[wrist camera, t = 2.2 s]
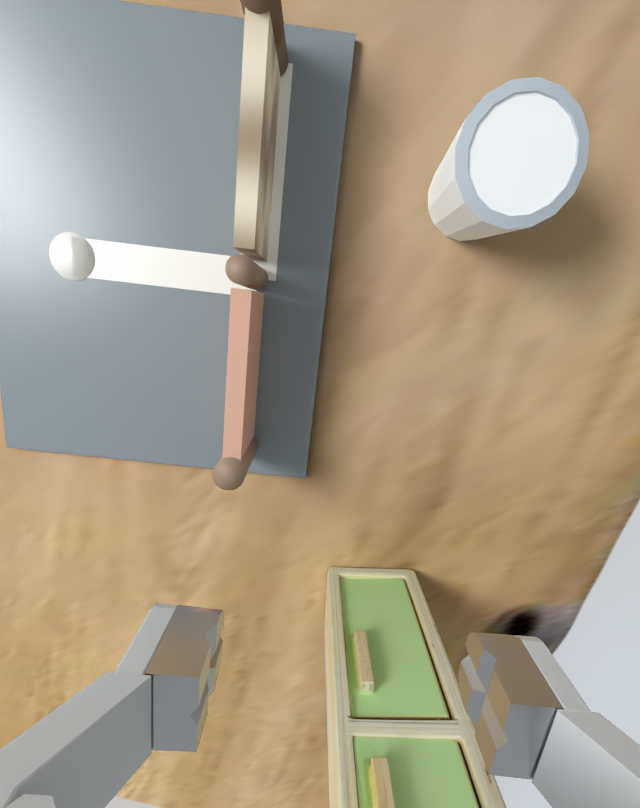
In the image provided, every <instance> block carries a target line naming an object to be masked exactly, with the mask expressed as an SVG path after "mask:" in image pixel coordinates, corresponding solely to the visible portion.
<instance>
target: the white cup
mask: <svg viewBox="0 0 640 808" xmlns="http://www.w3.org/2000/svg"><path fill="white" fill-rule="evenodd" d="M589 137H590V135H589V131H588V128H587V125H586V121H585V118H584V114H583V111H582V107H581V106H580V105H579V104H578V103H577V102H576V100H575V99H574V98H573V97H572V96H571V95H570V93H569V92H568V91H567V90H566V89H565V88H564V87H563V86H560V85H558V84H556V83H553V82H551V81H548V80H546V79H543V78H541V77H532V78H522V79H511V80H510V81H508V82H506V83H504V84H503V85H501V86H499V87H497V88H496V89H494V90H492V91H490V92H489V93H487V94H485V96H484V97H483V98H482V99H481V100H480V102H479V103H478V104H477V105H476V107H475V108H474V109H473V110H472V112H471V113H470V114H469V115H468V116H467V118H466V119H465V121H464V123H463V124H462V126H461V128H460V130H459V132H458V133H457V135H456V137H455V139H454V141H453V142H452V144H451V146H450V148H449V149H448V151H447V153H446V155H445V157H444V158H443V160H442V162H441V164H440V166H439V167H438V169H437V171H436V173H435V174H434V177H433V180H432V182H431V185H430V188H429V191H428V211H429V213H430V216H431V218H432V221H433V223H434V225H435V226H436V227H437V228H438V229H439V230H440V231H441V232H442V233H443V234H444V235H445V236H446V237H449V238H452V239H455V240H458V241H468V240H477V239H481V238H485V237H490V236H494V235H499V234H503V233H507V232H512V231H516V230H521V229H525V228H529V227H532V226H534V225H536V224H538V223H540V222H542V221H544V220H546V219H547V218H549V217H551V216H553V215H555V214H556V213H557V212H558V211H559V210H560V209H561V207H562V206H563V205H564V204H565V203H566V202H567V201H568V200H569V199H570V198H571V197H572V195H573V194H574V193H575V191H576V189H577V187H578V185H579V182H580V180H581V178H582V176H583V173H584V171H585V169H586V167H587V160H588V148H589Z"/></svg>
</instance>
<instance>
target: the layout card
mask: <svg viewBox="0 0 640 808" xmlns="http://www.w3.org/2000/svg"><path fill="white" fill-rule="evenodd" d="M244 21H245V18H239V17H232V16H225V15H218V14H211V13H204V12H196V11H189V10H182V9H175V8H168V7H161V6H154V5H146V4H139V3H132V2H125V1H118V0H0V390H1V399H2V409H3V418H4V428H5V438H6V447H8V448H18V449H28V450H37V451H47V452H57V453H67V454H76V455H86V456H96V457H105V458H115V459H125V460H134V461H144V462H154V463H164V464H173V465H183V466H193V467H202V468H212V469H214V468H215V466H216V465H217V463H218V462H219V460H220V459H221V458H222V453H223V434H224V414H225V394H226V375H227V355H228V335H229V316H230V296H231V288H239V289H247V290H253V289H250V288H247V287H244V286H242V285H239V284H236V283H233V282H232V281H231V280H230V279H229V278H228V277H227V274H226V271H225V266H226V262H227V260H228V259H229V258H230V257H231V256H232V255H235V254H242V253H240V252H239V251H238V250H236V249H235V248H234V247H233V237H234V217H235V198H236V178H237V158H238V139H239V119H240V99H241V80H242V60H243V40H244ZM284 30H285V38H286V46H287V55H288V66H287V70H286V72H285V73H284V75H283V76H281V79H280V92H279V106H278V120H277V134H276V147H275V161H274V175H273V188H272V202H271V216H270V230H269V243H268V257H267V262H264V261H256V260H253V261H254V262H255V263H256V264H258V265H259V266H260V267H262V268H263V269H264V270H265V271H266V272H267V275H268V283H267V285H266V286H265V287H264V288H263V289H261V290H253V291H256V292H259V293H262V294H264V305H263V319H262V333H261V346H260V360H259V374H258V388H257V401H256V415H255V429H254V436H255V437H256V439H257V440H258V449H257V451H256V454H255V456H254V458H253V460H252V463H251V465H250V467H249V469H248V471H247V472H251V473H261V474H270V475H280V476H290V477H299V478H306V471H307V462H308V453H309V444H310V435H311V426H312V417H313V409H314V400H315V391H316V382H317V373H318V364H319V355H320V346H321V338H322V329H323V320H324V311H325V302H326V293H327V284H328V275H329V267H330V258H331V249H332V240H333V231H334V222H335V213H336V204H337V196H338V187H339V178H340V169H341V160H342V151H343V142H344V133H345V125H346V116H347V107H348V98H349V89H350V80H351V71H352V62H353V54H354V45H355V36H356V34H354V33H346V32H339V31H332V30H325V29H318V28H311V27H304V26H296V25H289V24H284Z"/></svg>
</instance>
